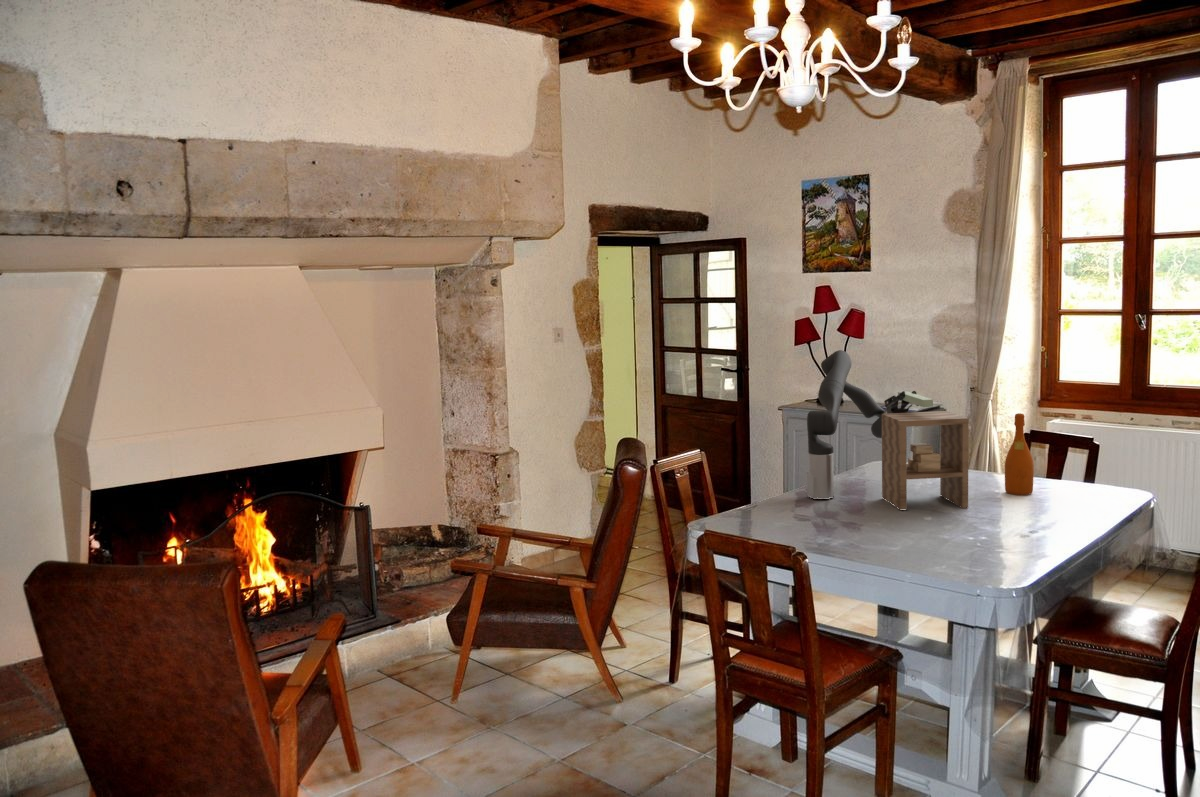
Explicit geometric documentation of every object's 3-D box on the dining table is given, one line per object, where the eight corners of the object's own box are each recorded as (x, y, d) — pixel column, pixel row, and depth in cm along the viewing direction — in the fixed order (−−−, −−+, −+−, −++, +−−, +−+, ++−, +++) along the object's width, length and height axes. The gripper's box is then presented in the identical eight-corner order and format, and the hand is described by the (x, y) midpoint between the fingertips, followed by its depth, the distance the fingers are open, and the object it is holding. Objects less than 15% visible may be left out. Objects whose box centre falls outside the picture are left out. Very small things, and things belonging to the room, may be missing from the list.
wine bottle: (998, 492, 358) (999, 413, 354) (1017, 489, 362) (1018, 411, 358) (1020, 497, 349) (1021, 416, 345) (1039, 493, 353) (1040, 413, 349)
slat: (897, 398, 363) (897, 391, 362) (906, 398, 363) (906, 391, 362) (923, 406, 337) (923, 399, 336) (933, 406, 337) (933, 399, 337)
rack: (882, 498, 355) (881, 413, 351) (945, 495, 355) (945, 411, 352) (901, 511, 335) (900, 421, 331) (968, 507, 336) (968, 418, 332)
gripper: (876, 402, 372) (889, 384, 356) (912, 401, 372) (926, 383, 357) (879, 420, 369) (892, 403, 353) (915, 419, 369) (930, 401, 354)
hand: (909, 393), depth 355 cm, fingers closed on slat, 3 cm apart
